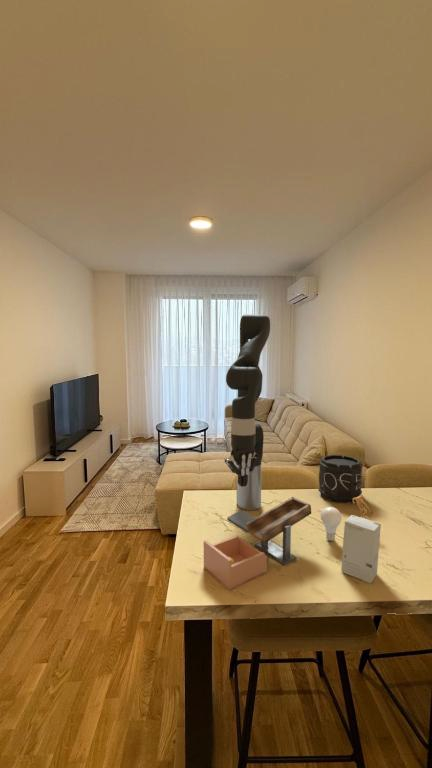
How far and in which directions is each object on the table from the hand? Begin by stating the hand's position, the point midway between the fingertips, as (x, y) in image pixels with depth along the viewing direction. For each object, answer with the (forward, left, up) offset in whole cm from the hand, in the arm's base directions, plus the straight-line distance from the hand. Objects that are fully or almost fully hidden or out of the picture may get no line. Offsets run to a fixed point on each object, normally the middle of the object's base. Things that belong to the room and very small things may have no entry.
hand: (242, 485), depth 113 cm
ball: (+9, -13, -17) cm, 23 cm away
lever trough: (+4, +7, -11) cm, 13 cm away
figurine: (+15, +41, -20) cm, 48 cm away
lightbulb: (+14, +25, -20) cm, 35 cm away
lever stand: (+9, +5, -19) cm, 22 cm away
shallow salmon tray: (+9, -10, -19) cm, 24 cm away
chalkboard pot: (-7, +59, -20) cm, 63 cm away
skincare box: (+30, +17, -20) cm, 40 cm away
